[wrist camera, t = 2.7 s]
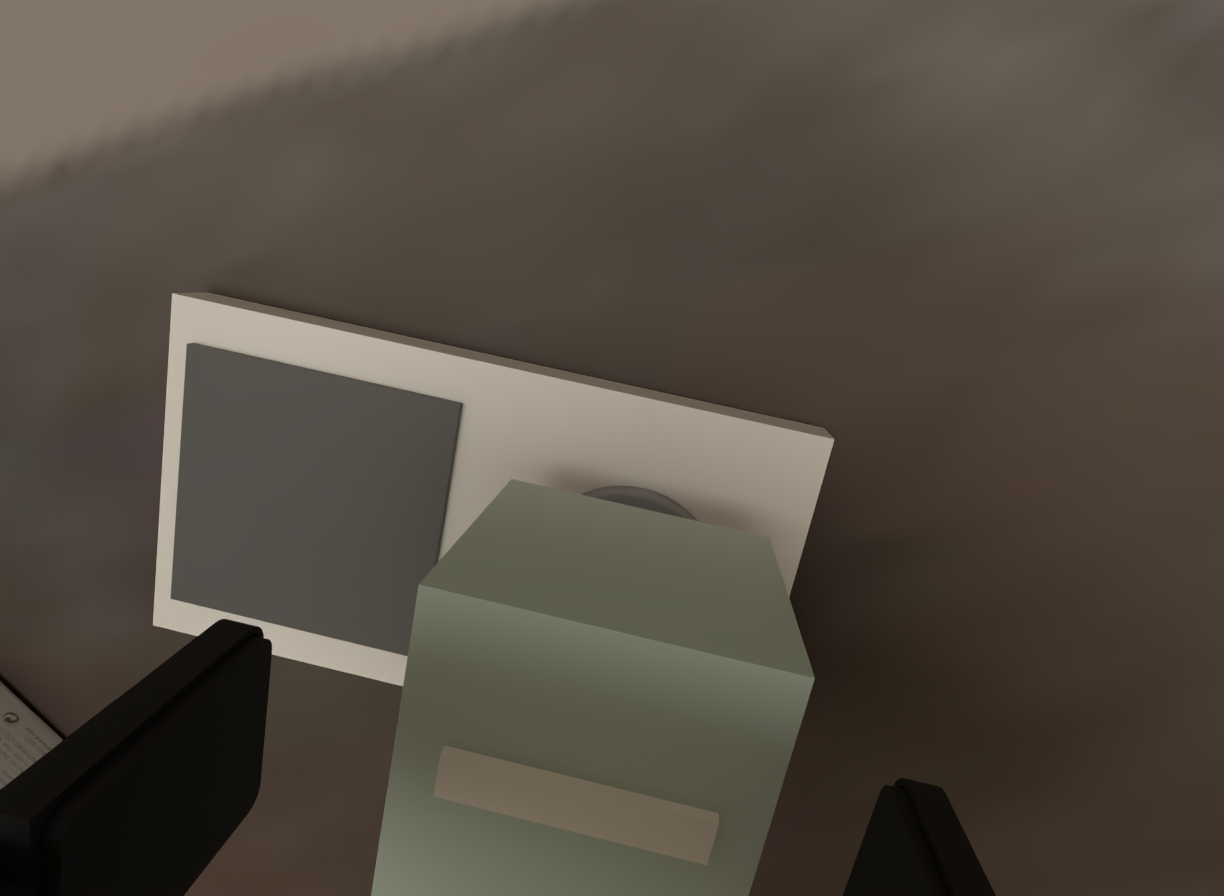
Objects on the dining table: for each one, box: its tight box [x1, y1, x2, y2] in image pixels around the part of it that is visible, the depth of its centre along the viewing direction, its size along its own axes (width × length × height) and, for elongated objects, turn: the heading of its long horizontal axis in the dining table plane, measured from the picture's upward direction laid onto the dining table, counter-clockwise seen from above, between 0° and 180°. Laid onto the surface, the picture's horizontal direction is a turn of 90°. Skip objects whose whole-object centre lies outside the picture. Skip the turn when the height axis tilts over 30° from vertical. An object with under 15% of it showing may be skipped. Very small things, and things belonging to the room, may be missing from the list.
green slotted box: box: [371, 479, 815, 896], centre depth 14 cm, size 6×6×6 cm
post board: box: [153, 292, 834, 686], centre depth 17 cm, size 18×10×10 cm, turn 78°
